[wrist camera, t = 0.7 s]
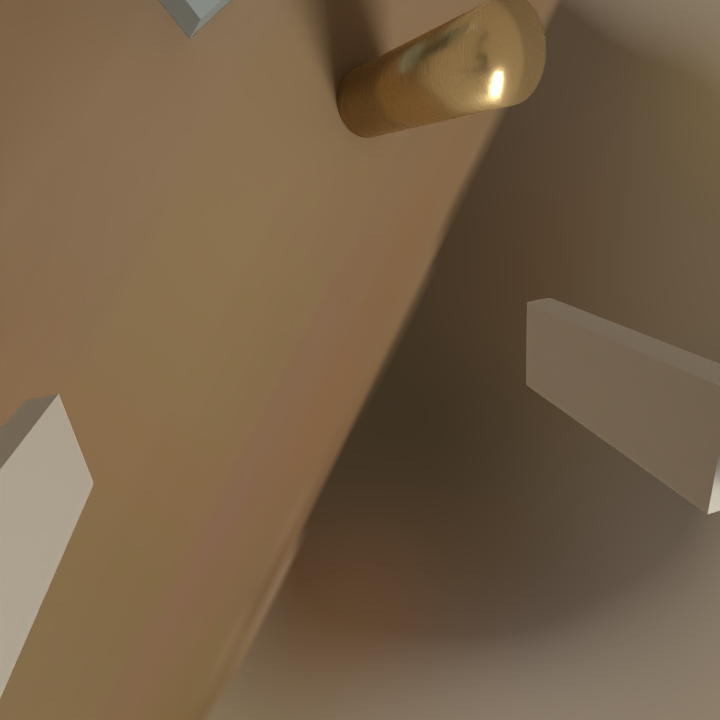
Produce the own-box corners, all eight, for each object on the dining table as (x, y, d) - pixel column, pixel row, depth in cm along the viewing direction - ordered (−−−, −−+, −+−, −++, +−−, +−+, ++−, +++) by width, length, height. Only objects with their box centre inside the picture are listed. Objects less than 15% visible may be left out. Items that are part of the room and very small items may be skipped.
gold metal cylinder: (324, 96, 33) (455, 37, 21) (368, 52, 33) (520, -30, 22) (363, 151, 35) (500, 126, 23) (404, 109, 36) (558, 64, 24)
